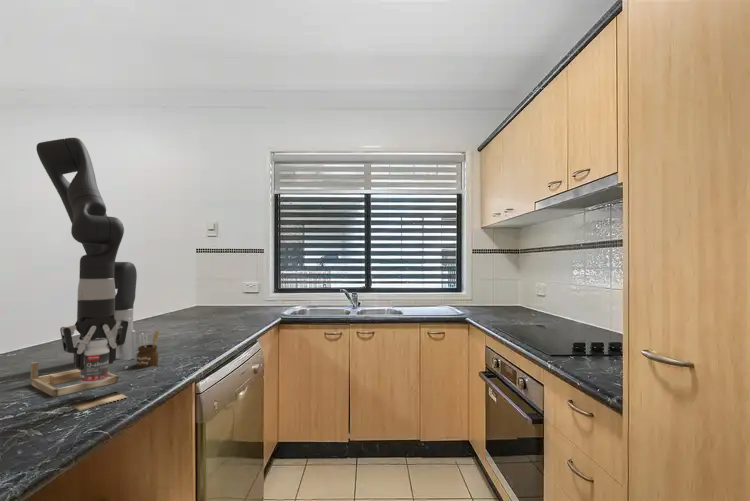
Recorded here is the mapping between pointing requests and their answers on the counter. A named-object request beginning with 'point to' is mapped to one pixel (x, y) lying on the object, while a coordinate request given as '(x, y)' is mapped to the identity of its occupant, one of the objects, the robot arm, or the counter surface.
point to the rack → (54, 392)
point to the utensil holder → (148, 353)
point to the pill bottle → (95, 361)
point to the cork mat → (97, 401)
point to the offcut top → (65, 377)
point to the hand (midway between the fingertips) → (95, 365)
